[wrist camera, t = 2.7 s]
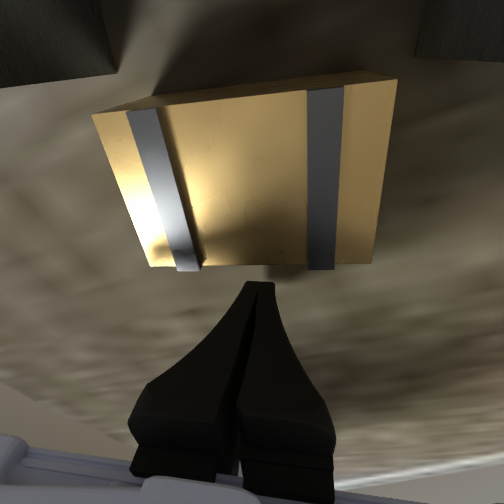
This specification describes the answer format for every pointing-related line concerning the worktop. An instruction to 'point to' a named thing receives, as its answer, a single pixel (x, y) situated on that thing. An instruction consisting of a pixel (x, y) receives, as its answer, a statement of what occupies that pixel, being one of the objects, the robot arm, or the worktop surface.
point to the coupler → (101, 62)
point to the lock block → (255, 170)
